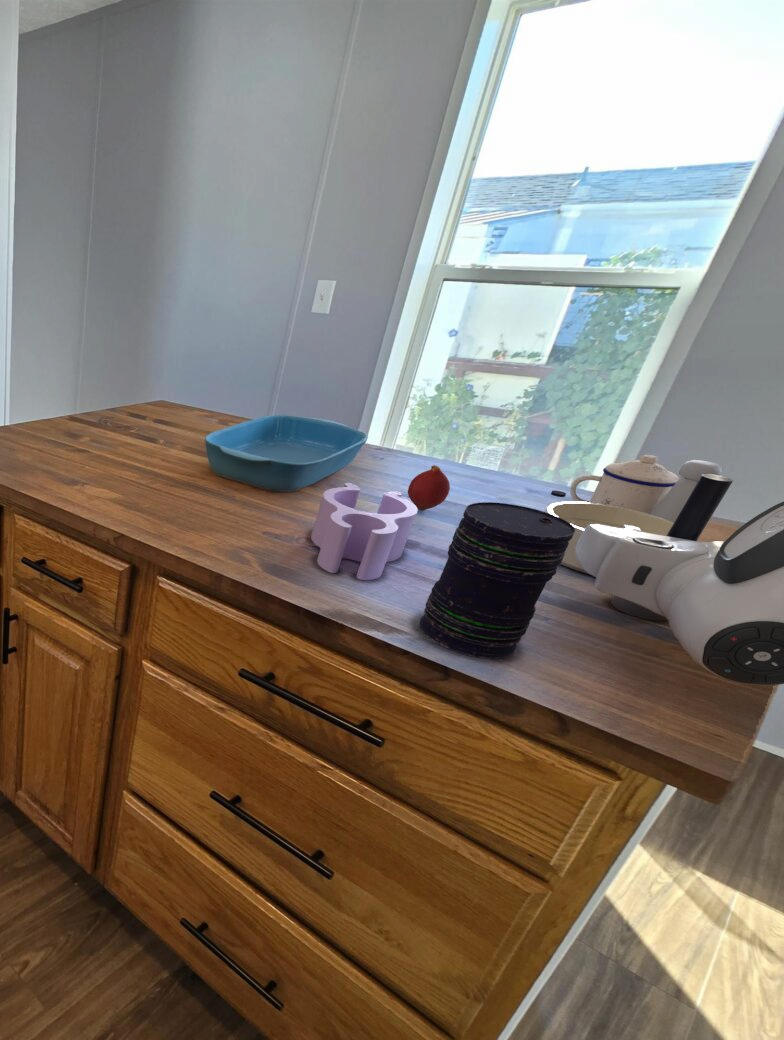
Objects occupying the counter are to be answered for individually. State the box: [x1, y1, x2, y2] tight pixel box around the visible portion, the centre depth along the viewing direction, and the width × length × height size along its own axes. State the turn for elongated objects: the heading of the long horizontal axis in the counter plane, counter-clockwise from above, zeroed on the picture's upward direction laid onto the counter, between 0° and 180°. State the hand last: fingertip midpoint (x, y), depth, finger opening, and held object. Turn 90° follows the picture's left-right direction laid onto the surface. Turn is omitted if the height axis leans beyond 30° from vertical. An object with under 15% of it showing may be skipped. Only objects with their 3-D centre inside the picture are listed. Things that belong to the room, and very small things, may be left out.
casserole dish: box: [204, 414, 369, 493], centre depth 129 cm, size 37×22×7 cm, turn 132°
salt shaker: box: [650, 459, 723, 523], centre depth 99 cm, size 6×6×13 cm
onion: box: [407, 464, 451, 512], centre depth 111 cm, size 6×6×8 cm
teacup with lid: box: [569, 454, 680, 514], centre depth 106 cm, size 12×9×12 cm
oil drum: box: [418, 490, 576, 660], centre depth 73 cm, size 10×10×18 cm
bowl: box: [544, 501, 699, 576], centre depth 95 cm, size 16×16×6 cm
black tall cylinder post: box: [610, 474, 734, 622], centre depth 79 cm, size 6×6×18 cm
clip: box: [310, 482, 419, 581], centre depth 96 cm, size 20×12×7 cm, turn 148°
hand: (677, 540), depth 79 cm, fingers open, 8 cm apart
